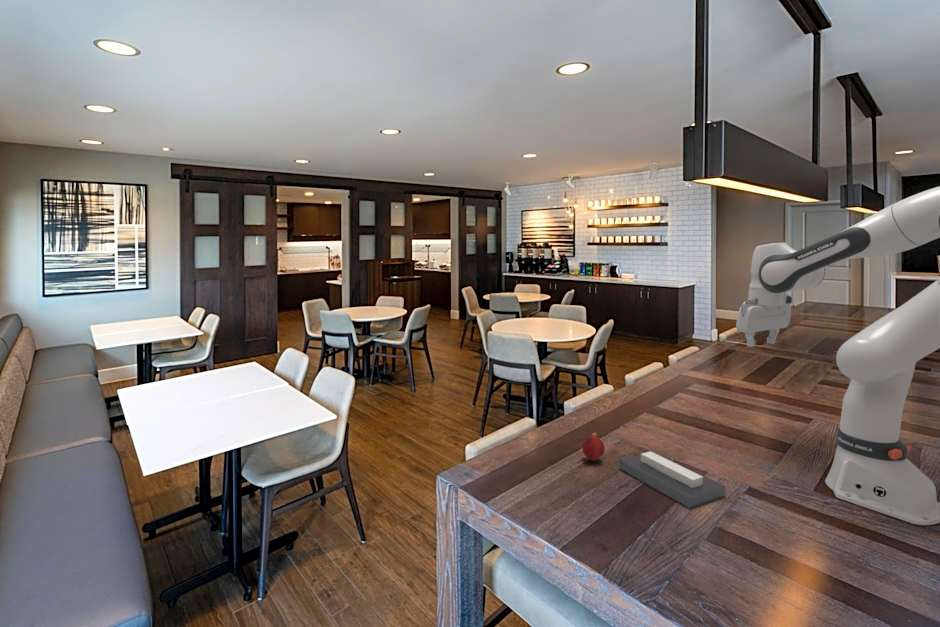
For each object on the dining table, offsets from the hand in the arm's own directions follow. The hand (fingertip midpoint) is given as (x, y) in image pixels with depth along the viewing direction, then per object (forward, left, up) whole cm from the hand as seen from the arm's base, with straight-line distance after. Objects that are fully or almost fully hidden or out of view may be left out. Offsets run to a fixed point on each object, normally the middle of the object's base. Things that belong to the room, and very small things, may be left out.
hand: (760, 344), depth 148 cm
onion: (+10, +53, -29) cm, 62 cm away
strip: (-8, +44, -29) cm, 53 cm away
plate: (-8, +44, -29) cm, 54 cm away
